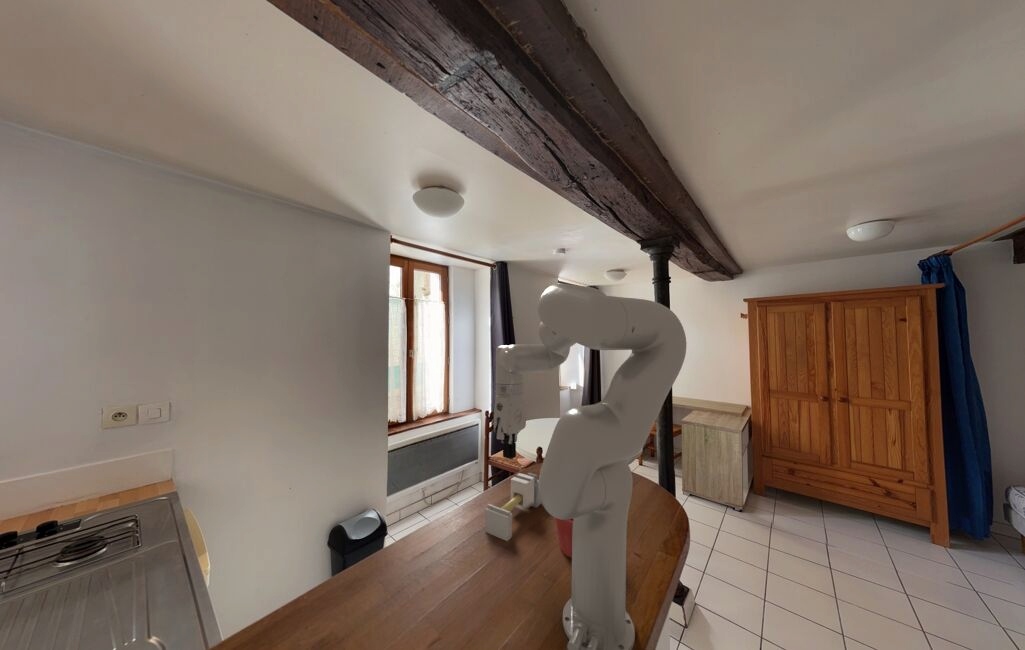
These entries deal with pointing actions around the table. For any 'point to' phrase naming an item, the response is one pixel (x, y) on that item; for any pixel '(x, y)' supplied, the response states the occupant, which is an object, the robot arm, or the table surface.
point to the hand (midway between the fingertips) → (509, 457)
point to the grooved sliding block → (523, 490)
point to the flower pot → (565, 535)
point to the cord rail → (507, 514)
